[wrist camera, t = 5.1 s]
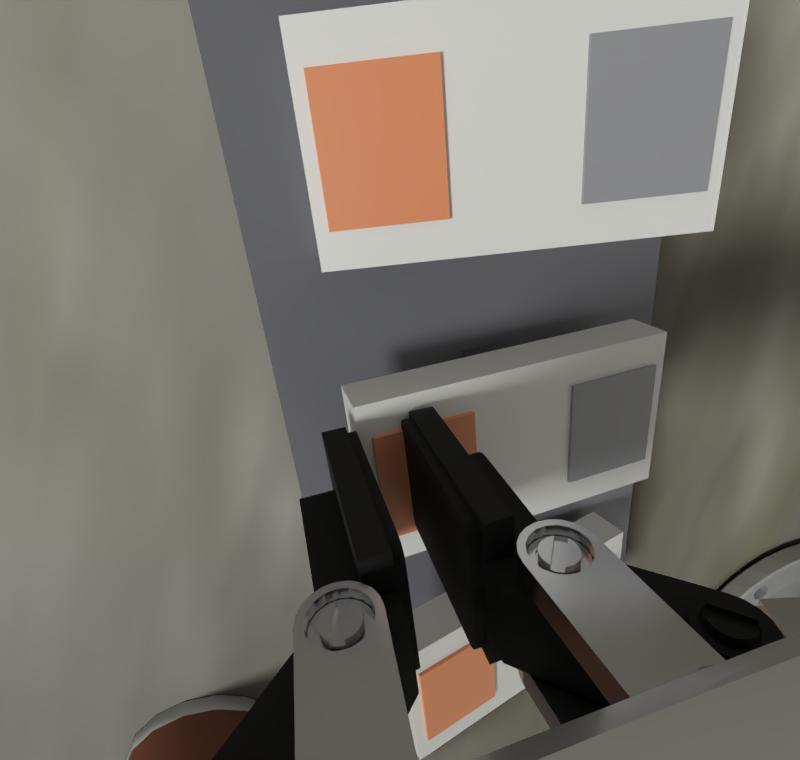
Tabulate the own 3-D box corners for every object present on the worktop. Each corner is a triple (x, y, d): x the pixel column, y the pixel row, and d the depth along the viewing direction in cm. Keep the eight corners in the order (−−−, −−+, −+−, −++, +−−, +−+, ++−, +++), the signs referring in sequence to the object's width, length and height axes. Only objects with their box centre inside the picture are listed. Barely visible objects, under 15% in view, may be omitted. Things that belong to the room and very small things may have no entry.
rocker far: (593, 511, 17) (626, 533, 16) (586, 604, 19) (614, 629, 18) (383, 625, 14) (407, 662, 13) (400, 723, 16) (422, 763, 15)
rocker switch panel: (603, -82, 14) (743, -181, 10) (568, 572, 24) (630, 652, 20) (180, -71, 12) (141, -191, 8) (339, 641, 22) (358, 746, 18)
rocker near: (713, -21, 9) (760, -45, 8) (682, 222, 11) (716, 231, 10) (291, 30, 10) (277, 14, 8) (328, 260, 11) (321, 273, 10)
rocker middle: (632, 319, 13) (670, 332, 12) (619, 456, 15) (651, 480, 14) (341, 385, 11) (354, 409, 10) (366, 534, 13) (379, 568, 12)
